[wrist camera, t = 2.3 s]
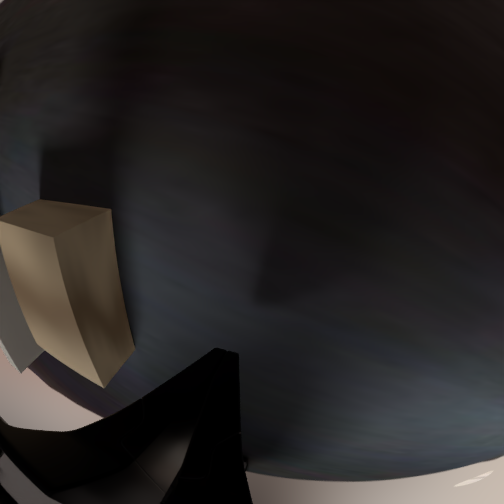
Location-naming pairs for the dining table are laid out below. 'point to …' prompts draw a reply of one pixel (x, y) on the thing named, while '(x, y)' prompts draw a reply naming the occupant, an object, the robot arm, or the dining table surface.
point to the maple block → (69, 284)
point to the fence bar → (14, 325)
